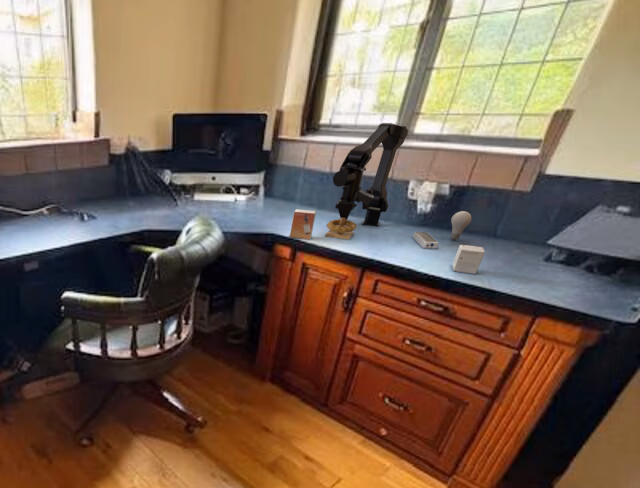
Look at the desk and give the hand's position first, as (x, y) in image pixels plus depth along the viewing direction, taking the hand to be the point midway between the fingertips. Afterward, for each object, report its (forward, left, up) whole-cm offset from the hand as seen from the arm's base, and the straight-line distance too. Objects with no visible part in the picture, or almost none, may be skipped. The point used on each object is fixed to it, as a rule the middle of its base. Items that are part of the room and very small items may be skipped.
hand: (343, 222), depth 175 cm
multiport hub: (-1, +30, -4) cm, 30 cm away
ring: (+4, 0, 0) cm, 4 cm away
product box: (+27, +42, -4) cm, 50 cm away
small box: (+14, -13, -4) cm, 20 cm away
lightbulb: (-11, +39, -4) cm, 41 cm away
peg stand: (+4, 0, -4) cm, 6 cm away
